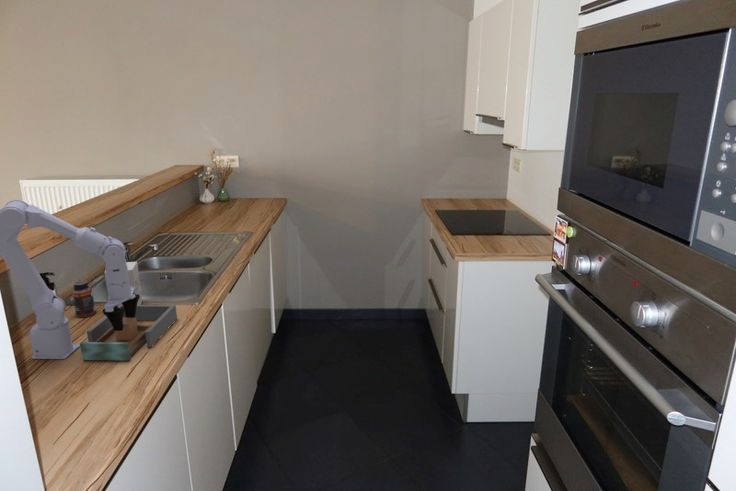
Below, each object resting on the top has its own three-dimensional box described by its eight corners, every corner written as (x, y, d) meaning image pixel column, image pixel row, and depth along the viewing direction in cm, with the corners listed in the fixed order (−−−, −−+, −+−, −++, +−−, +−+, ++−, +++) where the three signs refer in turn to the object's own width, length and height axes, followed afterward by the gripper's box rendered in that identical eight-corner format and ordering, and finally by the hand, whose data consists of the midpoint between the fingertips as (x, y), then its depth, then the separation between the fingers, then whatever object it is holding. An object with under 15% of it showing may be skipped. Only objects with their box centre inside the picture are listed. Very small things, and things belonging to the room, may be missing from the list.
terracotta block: (116, 339, 154) (113, 324, 152) (123, 332, 158) (121, 317, 157) (131, 339, 154) (128, 324, 152) (138, 332, 158) (136, 317, 156)
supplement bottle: (100, 311, 177) (94, 280, 173) (87, 318, 171) (81, 286, 168) (85, 309, 178) (79, 278, 175) (71, 317, 172) (65, 285, 169)
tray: (82, 360, 144) (79, 343, 143) (114, 332, 161) (111, 317, 159) (129, 360, 144) (126, 344, 142) (155, 332, 160) (153, 317, 159)
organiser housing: (89, 347, 152) (86, 331, 151) (121, 318, 171) (119, 304, 169) (151, 347, 152) (149, 332, 150) (177, 319, 170) (175, 305, 168)
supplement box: (110, 314, 175) (102, 271, 170) (115, 303, 183) (109, 263, 178) (139, 311, 177) (132, 269, 172) (143, 300, 185) (137, 260, 180)
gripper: (119, 291, 144) (126, 335, 148) (143, 272, 157) (149, 314, 161) (94, 290, 144) (102, 335, 148) (120, 272, 158) (126, 314, 162)
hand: (125, 324), depth 155 cm, fingers open, 7 cm apart
